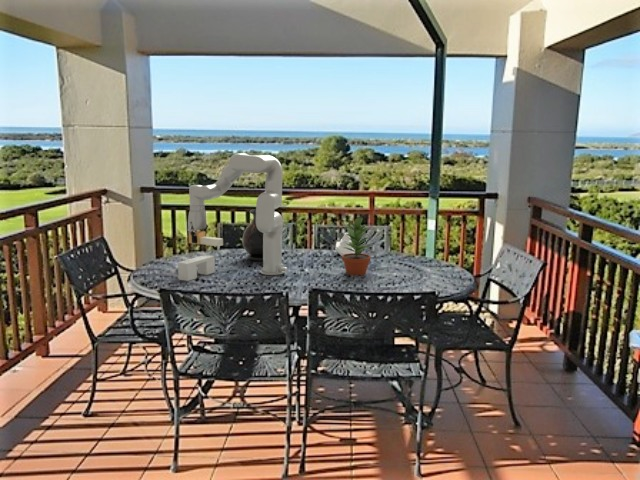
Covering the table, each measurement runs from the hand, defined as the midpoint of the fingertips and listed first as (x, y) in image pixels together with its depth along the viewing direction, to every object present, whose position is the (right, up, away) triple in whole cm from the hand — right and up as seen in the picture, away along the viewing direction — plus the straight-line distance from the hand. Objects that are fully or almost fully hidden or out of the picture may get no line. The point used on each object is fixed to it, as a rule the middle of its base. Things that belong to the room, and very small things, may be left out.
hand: (198, 241), depth 289 cm
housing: (+4, -17, -18) cm, 25 cm away
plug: (+5, -1, -2) cm, 5 cm away
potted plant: (+84, -16, -9) cm, 86 cm away
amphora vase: (+32, -10, +21) cm, 39 cm away
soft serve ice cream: (+80, -8, +36) cm, 88 cm away
